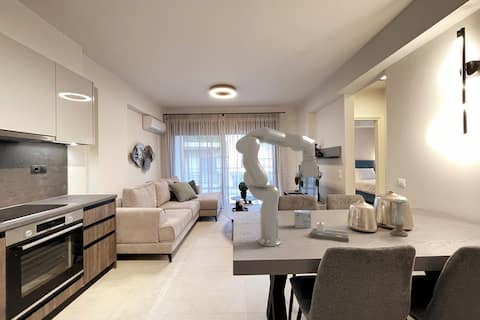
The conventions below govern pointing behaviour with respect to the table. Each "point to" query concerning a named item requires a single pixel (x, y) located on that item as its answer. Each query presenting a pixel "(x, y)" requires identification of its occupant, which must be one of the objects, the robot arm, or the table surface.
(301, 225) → the light bulb box
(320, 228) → the switch tab
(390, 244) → the table surface
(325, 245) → the table surface
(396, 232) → the candle holder
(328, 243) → the table surface
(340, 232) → the switch board
